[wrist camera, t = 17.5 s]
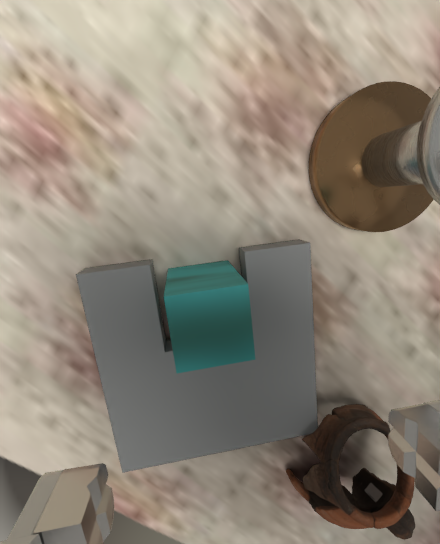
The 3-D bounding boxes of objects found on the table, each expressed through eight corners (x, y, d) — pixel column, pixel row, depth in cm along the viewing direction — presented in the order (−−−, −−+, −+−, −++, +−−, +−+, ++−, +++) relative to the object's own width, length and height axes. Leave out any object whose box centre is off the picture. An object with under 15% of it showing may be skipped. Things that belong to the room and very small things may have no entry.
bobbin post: (428, 222, 24) (582, 233, 15) (311, 237, 23) (399, 260, 14) (436, 84, 22) (624, -3, 13) (305, 95, 21) (406, 9, 12)
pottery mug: (254, 459, 28) (297, 494, 20) (305, 375, 31) (357, 378, 24) (353, 544, 28) (433, 612, 20) (392, 450, 31) (472, 477, 24)
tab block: (233, 315, 24) (255, 359, 17) (177, 324, 23) (176, 373, 16) (227, 260, 23) (248, 283, 16) (168, 268, 22) (163, 296, 15)
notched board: (307, 415, 27) (317, 432, 25) (126, 451, 25) (122, 472, 23) (299, 239, 23) (310, 242, 21) (85, 268, 21) (75, 274, 19)
